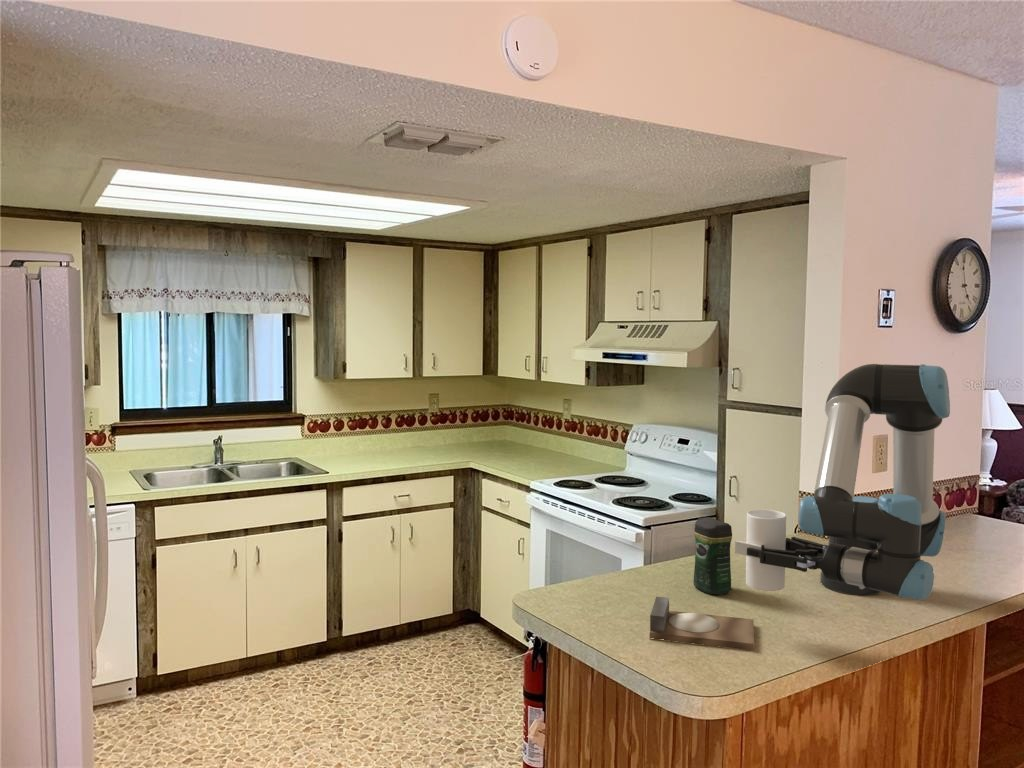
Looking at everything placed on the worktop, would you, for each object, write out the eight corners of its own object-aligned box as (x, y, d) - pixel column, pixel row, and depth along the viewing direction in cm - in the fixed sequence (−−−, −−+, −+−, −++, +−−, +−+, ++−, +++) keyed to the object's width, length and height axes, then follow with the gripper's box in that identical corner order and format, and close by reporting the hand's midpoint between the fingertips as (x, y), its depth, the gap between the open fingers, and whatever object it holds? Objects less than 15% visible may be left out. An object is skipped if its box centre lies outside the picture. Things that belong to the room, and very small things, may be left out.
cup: (740, 579, 175) (741, 509, 174) (775, 577, 176) (776, 508, 174) (754, 591, 167) (755, 519, 166) (791, 590, 168) (792, 517, 166)
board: (753, 625, 177) (753, 604, 177) (753, 650, 164) (754, 627, 164) (656, 615, 184) (656, 595, 183) (649, 638, 170) (649, 616, 170)
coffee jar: (736, 593, 198) (738, 522, 197) (711, 597, 195) (712, 525, 194) (712, 581, 207) (713, 513, 206) (688, 585, 204) (689, 516, 203)
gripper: (824, 595, 151) (721, 569, 167) (867, 570, 165) (768, 549, 182) (825, 558, 150) (721, 535, 166) (868, 536, 165) (768, 517, 181)
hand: (746, 542), depth 174 cm, fingers closed on cup, 8 cm apart
